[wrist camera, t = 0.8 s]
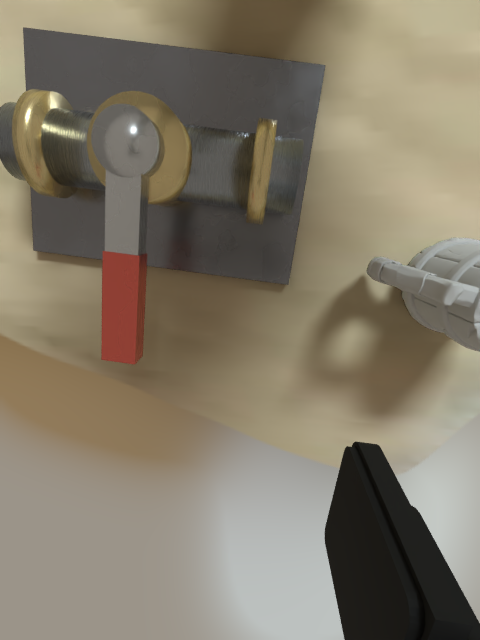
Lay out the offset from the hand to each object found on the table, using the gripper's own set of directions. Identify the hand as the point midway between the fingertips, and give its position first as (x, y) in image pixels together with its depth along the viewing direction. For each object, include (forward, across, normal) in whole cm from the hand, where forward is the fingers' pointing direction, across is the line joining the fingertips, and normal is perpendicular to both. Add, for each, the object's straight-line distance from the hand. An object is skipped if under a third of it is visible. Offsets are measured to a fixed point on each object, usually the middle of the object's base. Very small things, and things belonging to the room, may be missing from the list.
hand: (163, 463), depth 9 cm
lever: (+14, +6, -4) cm, 16 cm away
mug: (+22, -16, -3) cm, 28 cm away
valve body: (+22, +6, -9) cm, 25 cm away
